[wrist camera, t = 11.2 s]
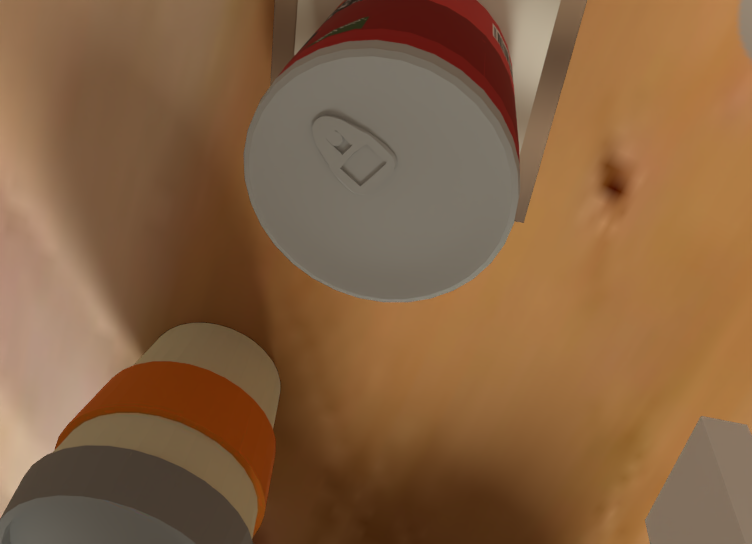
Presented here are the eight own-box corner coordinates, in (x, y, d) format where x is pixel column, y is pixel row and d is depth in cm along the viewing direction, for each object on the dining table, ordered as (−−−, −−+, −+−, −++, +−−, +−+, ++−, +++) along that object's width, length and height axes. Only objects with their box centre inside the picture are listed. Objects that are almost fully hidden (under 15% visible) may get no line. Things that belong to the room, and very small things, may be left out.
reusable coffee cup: (248, 275, 42) (144, 467, 29) (339, 423, 47) (283, 639, 35) (86, 328, 46) (-66, 516, 34) (187, 459, 52) (89, 663, 39)
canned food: (375, -72, 26) (309, -15, 17) (554, 41, 27) (584, 152, 18) (289, 100, 30) (199, 222, 21) (449, 191, 31) (430, 345, 22)
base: (520, 176, 36) (523, 225, 32) (291, 134, 37) (264, 177, 32) (590, -81, 30) (606, -64, 25) (310, -128, 30) (278, -119, 26)
